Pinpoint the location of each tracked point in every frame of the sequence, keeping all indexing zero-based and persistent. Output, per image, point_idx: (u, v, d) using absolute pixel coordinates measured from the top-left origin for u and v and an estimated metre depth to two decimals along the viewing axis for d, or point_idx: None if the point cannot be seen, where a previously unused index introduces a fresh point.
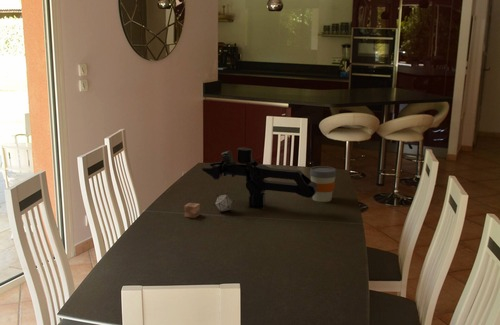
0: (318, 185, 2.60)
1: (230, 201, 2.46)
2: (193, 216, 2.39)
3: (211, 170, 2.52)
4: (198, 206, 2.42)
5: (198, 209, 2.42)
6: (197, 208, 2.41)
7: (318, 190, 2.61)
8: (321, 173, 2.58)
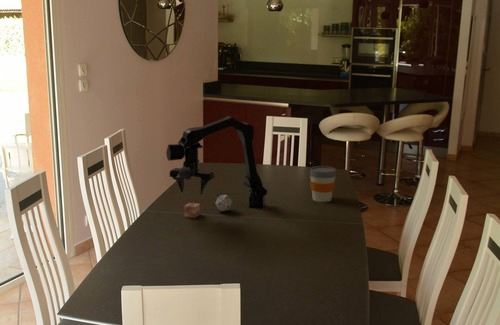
0: (318, 185, 2.60)
1: (230, 201, 2.46)
2: (193, 216, 2.39)
3: (204, 183, 2.37)
4: (198, 206, 2.42)
5: (198, 209, 2.42)
6: (197, 208, 2.41)
7: (318, 190, 2.61)
8: (321, 173, 2.58)
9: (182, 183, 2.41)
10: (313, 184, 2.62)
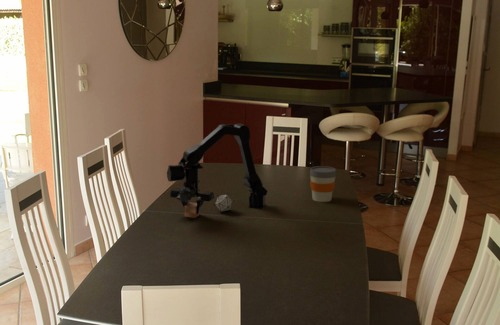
0: (318, 185, 2.60)
1: (230, 201, 2.46)
2: (193, 216, 2.39)
3: (200, 203, 2.39)
4: None
5: None
6: None
7: (318, 190, 2.61)
8: (321, 173, 2.58)
9: (186, 203, 2.42)
10: (313, 184, 2.62)
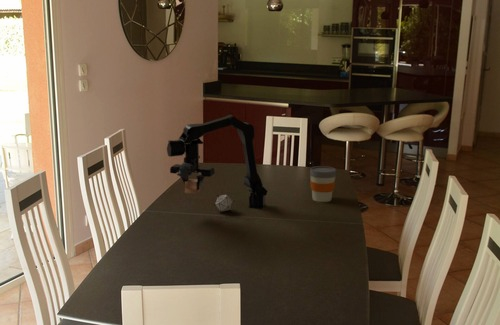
0: (318, 185, 2.60)
1: (230, 201, 2.46)
2: (193, 192, 2.37)
3: (200, 179, 2.37)
4: None
5: None
6: None
7: (318, 190, 2.61)
8: (321, 173, 2.58)
9: None
10: (313, 184, 2.62)
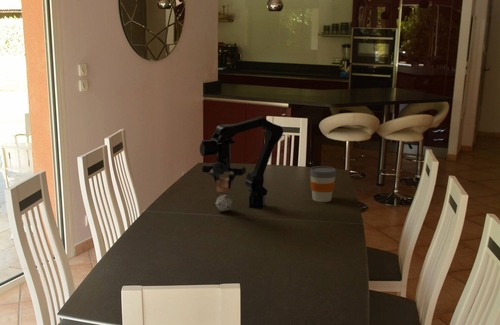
0: (318, 185, 2.60)
1: (230, 201, 2.46)
2: (225, 190, 2.43)
3: None
4: None
5: None
6: None
7: (318, 190, 2.61)
8: (321, 173, 2.58)
9: (218, 178, 2.46)
10: (313, 184, 2.62)
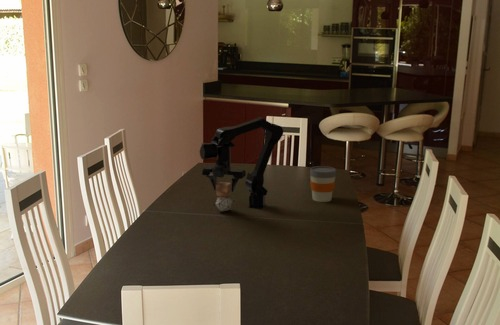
0: (318, 185, 2.60)
1: (230, 201, 2.46)
2: (225, 195, 2.43)
3: (235, 181, 2.43)
4: (229, 185, 2.46)
5: (229, 188, 2.46)
6: (229, 187, 2.45)
7: (318, 190, 2.61)
8: (321, 173, 2.58)
9: (215, 181, 2.47)
10: (313, 184, 2.62)
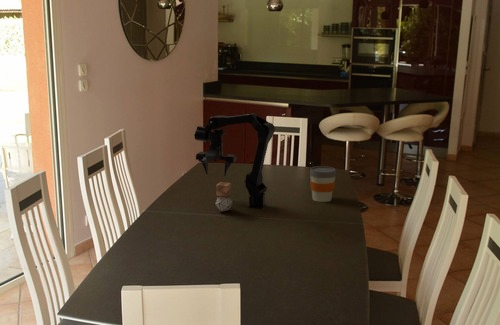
0: (318, 185, 2.60)
1: (230, 201, 2.46)
2: (225, 195, 2.43)
3: (227, 166, 2.59)
4: (229, 185, 2.46)
5: (229, 188, 2.46)
6: (229, 187, 2.45)
7: (318, 190, 2.61)
8: (321, 173, 2.58)
9: (207, 165, 2.62)
10: (313, 184, 2.62)
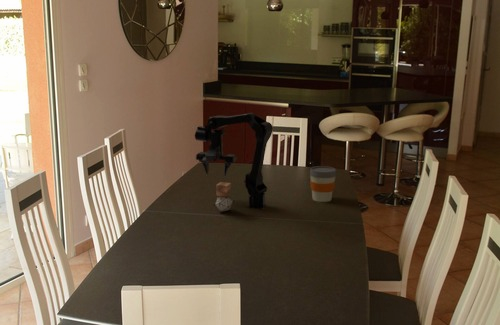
0: (318, 185, 2.60)
1: (230, 201, 2.46)
2: (225, 195, 2.43)
3: (227, 165, 2.60)
4: (229, 185, 2.46)
5: (229, 188, 2.46)
6: (229, 187, 2.45)
7: (318, 190, 2.61)
8: (321, 173, 2.58)
9: (207, 165, 2.64)
10: (313, 184, 2.62)
